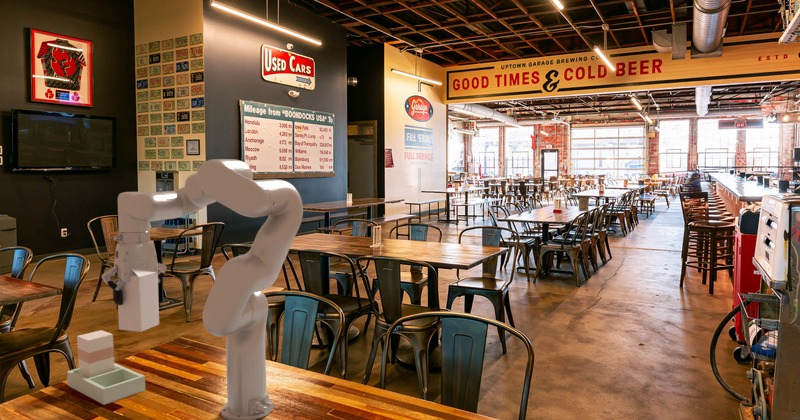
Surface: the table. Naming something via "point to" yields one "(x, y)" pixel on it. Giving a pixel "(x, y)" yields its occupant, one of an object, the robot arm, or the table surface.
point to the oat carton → (95, 353)
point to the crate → (108, 384)
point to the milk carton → (139, 302)
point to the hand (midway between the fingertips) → (136, 300)
